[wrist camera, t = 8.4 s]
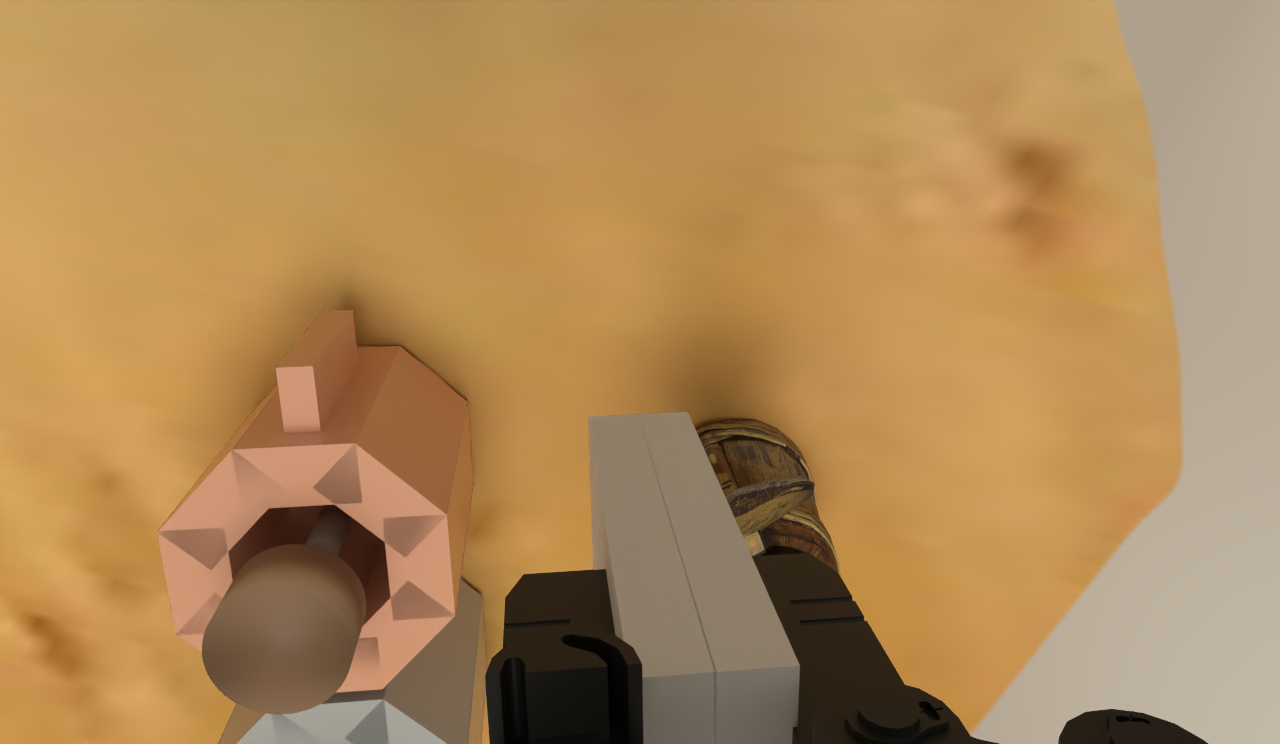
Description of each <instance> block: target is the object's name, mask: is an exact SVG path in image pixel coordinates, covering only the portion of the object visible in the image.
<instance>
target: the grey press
mask: <svg viewBox="0 0 1280 744" xmlns="http://www.w3.org/2000/svg"><path fill="white" fill-rule="evenodd" d="M486 672H487V661H486V647H485V625H484V618H483V605H482V595H480V594H479V593H478V592H476V591H475V590H474V589H472V588H471V587H470V586H469V585H468V584H467V582H466V581H465V580H464V579H463V578H462V577H461V579H460V586H459V594H458V601H457V608H456V615H455V617H454V618H453V619H452V620H451V621H450V622H449V623H448V624H447V625H446V626H445V627H444V628H443V629H442V630H441V631H440V632H439V633H438V634H437V635H436V636H435V637H434V638H433V639H432V640H431V641H430V642H429V643H428V644H427V645H426V646H425V647H424V648H423V649H422V650H421V651H420V652H419V653H418V654H417V655H416V656H415V657H414V658H413V659H412V660H411V661H410V662H409V663H408V664H407V665H406V666H405V667H404V668H403V669H402V670H401V671H400V672H399V673H398V674H397V675H396V676H395V677H394V678H393V679H392V680H391V681H390V682H389V683H388V684H387V685H386V686H385V687H384V688H383V689H378V690H365V691H352V692H338V693H335V694H334V695H332V696H331V697H330V698H329V699H328V700H326V701H325V702H323V703H322V704H320V705H318V706H316V707H314V708H311V709H308V710H306V711H302V712H298V713H292V714H267V713H262V712H257V711H254V710H251V709H248V708H245V707H243V706H241V705H239V704H237V703H236V706H235V708H234V710H233V712H232V714H231V717H230V719H229V721H228V723H227V725H226V727H225V730H224V732H223V734H222V736H221V738H220V741H219V743H218V744H481V742H482V729H483V715H484V701H485V688H486V682H485V675H486Z"/></svg>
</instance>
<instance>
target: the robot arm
mask: <svg viewBox="0 0 1280 744" xmlns="http://www.w3.org/2000/svg"><path fill="white" fill-rule="evenodd" d="M588 422H589V452H590V482H591V512H592V542H593V570H583V571H568V572H552V573H537V574H524V575H523V576H522V577H521V579H520V580H519V581H518V582H517V584H516V585H515V586H514V587H513V589H512V590H511V591H510V593H509V594H508V595H507V596H506V598H505V617H504V637H503V649H502V650H501V651H499V652H498V653H497V654H496V655H495V656H494V657H493V658H492V660H491V662H490V665H489V667H488V670H487V672H486V675H485V682H486V696H487V710H488V723H489V737H490V744H998V743H993V742H989V741H984V740H979V739H976V738H973V737H971V736H970V735H969V733H968V732H967V730H966V729H965V727H964V725H963V724H962V722H961V721H960V719H959V718H958V717H957V716H956V715H955V714H954V713H953V712H952V711H951V710H950V709H949V708H948V707H947V706H946V705H945V704H944V703H943V702H942V701H941V700H939V699H937V698H935V697H933V696H931V695H930V694H928V693H926V692H924V691H922V690H920V689H918V688H914V687H911V686H907V685H905V684H904V683H903V681H902V679H901V678H900V676H899V674H898V673H897V671H896V669H895V668H894V666H893V664H892V663H891V661H890V659H889V658H888V656H887V654H886V652H885V651H884V649H883V647H882V646H881V644H880V642H879V641H878V639H877V637H876V636H875V634H874V632H873V631H872V629H871V627H870V626H869V624H868V622H867V621H864V616H863V614H862V612H861V611H860V609H859V607H858V606H857V604H856V602H855V601H852V595H851V594H850V592H849V590H848V589H847V587H846V585H845V584H844V582H843V580H842V579H841V577H840V575H839V574H838V572H837V571H835V570H834V569H832V568H831V567H829V566H828V565H826V564H825V563H823V562H822V561H820V560H819V559H817V558H816V557H815V556H813V555H812V554H810V553H798V554H783V555H767V556H751V554H750V552H749V549H748V547H747V545H746V543H745V540H744V538H743V536H742V533H741V531H740V529H739V527H738V524H737V522H736V520H735V518H734V515H733V513H732V511H731V509H730V506H729V504H728V502H727V500H726V497H725V495H724V493H723V491H722V488H721V486H720V484H719V481H718V479H717V477H716V475H715V472H714V470H713V468H712V466H711V463H710V461H709V459H708V457H707V454H706V452H705V450H704V448H703V445H702V443H701V441H700V438H699V436H698V434H697V432H696V429H695V427H694V425H693V423H692V420H691V418H690V416H689V414H688V412H671V413H651V414H631V415H612V416H592V417H588ZM1059 744H1208V743H1206V742H1205V741H1204V740H1202V739H1201V738H1199V737H1197V736H1195V735H1194V734H1192V733H1190V732H1188V731H1186V730H1185V729H1183V728H1181V727H1179V726H1178V725H1176V724H1174V723H1171V722H1168V721H1165V720H1162V719H1159V718H1156V717H1153V716H1150V715H1147V714H1144V713H1138V712H1133V711H1123V710H1115V709H1108V710H1099V711H1090V712H1085V713H1083V714H1081V715H1079V716H1077V717H1075V718H1073V719H1072V720H1070V721H1068V722H1067V723H1066V725H1065V727H1064V729H1063V731H1062V733H1061V735H1060V737H1059Z"/></svg>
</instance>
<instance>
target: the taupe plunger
mask: <svg viewBox="0 0 1280 744" xmlns="http://www.w3.org/2000/svg"><path fill="white" fill-rule="evenodd" d="M351 520H352V517H351V516H349V515H348V514H347V513H345V512H344V511H343V510H341V509H340V508H339V507H337V506H336V505H335V504H334V505H323V507H322V509H321V512H320V514H319V516H318V518H317V520H316V522H315V524H314V527H313V529H312V531H311V533H310V535H309V537H308V539H307V542H306V544H305V545H300V544H290V545H282V546H277V547H273V548H270V549H267V550H265V551H263V552H261V553H259V554H257V555H255V556H254V557H253V558H251V559H250V560H249V561H247V562H246V563H245V564H244V565H243V566H242V568H241V569H240V570H239V571H238V573H237V575H236V576H235V578H234V580H233V581H232V583H231V585H230V587H229V588H228V590H227V592H226V594H225V595H224V597H223V599H222V601H221V602H220V604H219V606H218V608H217V609H216V611H215V613H214V615H213V616H212V618H211V620H210V622H209V623H208V625H207V627H206V630H205V632H204V636H203V641H202V658H203V662H204V666H205V669H206V671H207V673H208V675H209V677H210V679H211V680H212V682H213V683H214V684H215V686H216V687H217V688H218V689H219V690H220V691H221V692H222V693H223V694H224V695H225V696H227V697H228V698H229V699H231V700H232V701H234V702H235V703H237V704H239V705H241V706H243V707H245V708H248V709H251V710H254V711H257V712H262V713H267V714H292V713H298V712H302V711H306V710H308V709H311V708H314V707H316V706H318V705H320V704H322V703H323V702H325V701H326V700H328V699H329V698H330V697H331V696H332V695H334V694H335V693H336V692H337V690H338V689H339V688H340V687H341V686H342V684H343V682H344V681H345V679H346V677H347V675H348V673H349V670H350V666H351V663H352V660H353V656H354V653H355V650H356V646H357V643H358V640H359V636H360V633H361V629H362V626H363V623H364V619H365V615H366V608H367V607H366V596H365V591H364V588H363V586H362V583H361V581H360V580H359V578H358V576H357V575H356V573H355V572H354V571H353V570H352V568H351V567H350V566H349V565H348V564H347V563H345V562H344V561H343V560H342V559H340V558H339V557H337V556H338V554H339V551H340V549H341V546H342V544H343V541H344V538H345V536H346V533H347V531H348V528H349V526H350V523H351Z"/></svg>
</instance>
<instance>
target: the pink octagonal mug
mask: <svg viewBox="0 0 1280 744" xmlns="http://www.w3.org/2000/svg"><path fill="white" fill-rule="evenodd" d="M276 374H277V382H278V384H277V385H276V386H275V387H274V388H273V390H272V391H271V392H270V393H269V394H268V395H267V396H266V397H265V398H264V400H263V401H262V402H261V403H260V404H259V405H258V406H257V407H256V408H255V409H254V411H253V412H251V414H250V415H249V416H248V417H247V419H246V420H245V421H244V422H243V424H242V425H241V426H240V427H239V429H238V430H237V431H236V433H235V434H234V435H233V436H232V438H231V439H230V440H229V441H228V443H227V444H226V445H225V446H224V448H223V449H222V450H221V451H220V453H219V454H218V455H217V456H216V458H215V459H214V460H213V462H212V463H211V464H210V465H209V467H208V468H207V469H206V470H205V472H204V473H203V474H202V475H201V477H200V478H199V479H198V480H197V482H196V483H195V484H194V486H193V487H192V488H191V489H190V491H189V492H188V493H187V494H186V496H185V497H184V498H183V499H182V501H181V502H180V503H179V504H178V506H177V507H176V508H175V509H174V511H173V512H172V513H171V515H170V516H169V517H168V518H167V520H166V521H165V522H164V523H163V525H162V526H161V527H160V528H159V530H158V531H157V533H158V539H159V544H160V550H161V555H162V561H163V566H164V572H165V577H166V583H167V588H168V594H169V599H170V605H171V610H172V616H173V621H174V627H175V632H176V636H178V637H180V638H181V639H183V640H184V641H186V642H187V643H189V644H190V645H192V646H193V647H195V648H196V649H198V650H199V651H201V652H202V641H203V636H204V632H205V630H206V627H207V625H208V623H209V622H210V620H211V618H212V616H213V615H214V613H215V611H216V609H217V608H218V606H219V604H220V602H221V601H222V599H223V597H224V595H225V594H226V592H227V590H228V588H229V587H230V585H231V583H232V581H233V580H234V578H235V576H236V575H237V573H238V571H239V570H240V569H241V568H242V566H243V565H244V564H245V563H246V562H247V561H249V560H250V559H251V558H253V557H254V556H255V555H257V554H259V553H261V552H263V551H265V550H267V549H270V548H273V547H277V546H282V545H290V544H300V545H305V544H306V542H307V539H308V537H309V535H310V533H311V531H312V529H313V527H314V524H315V522H316V520H317V518H318V516H319V514H320V512H321V509H322V507H323V505H334V504H335V505H336V506H337V507H339V508H340V509H341V510H343V511H344V512H345V513H347V514H348V515H349V516H351V517H352V520H351V523H350V526H349V528H348V531H347V533H346V536H345V538H344V541H343V544H342V546H341V549H340V551H339V554H338V556H337V557H339V558H340V559H342V560H343V561H344V562H345V563H347V564H348V565H349V566H350V567H351V568H352V570H353V571H354V572H355V573H356V575H357V576H358V578H359V580H360V581H361V583H362V586H363V588H364V591H365V596H366V607H367V608H366V615H365V619H364V623H363V626H362V629H361V633H360V636H359V640H358V643H357V646H356V650H355V653H354V656H353V660H352V663H351V666H350V670H349V673H348V675H347V677H346V679H345V681H344V682H343V684H342V686H341V687H340V688H339V689H338V690H337V692H336V693H338V692H352V691H365V690H378V689H383V688H384V687H385V686H386V685H387V684H388V683H389V682H390V681H391V680H392V679H393V678H394V677H395V676H396V675H397V674H398V673H399V672H400V671H401V670H402V669H403V668H404V667H405V666H406V665H407V664H408V663H409V662H410V661H411V660H412V659H413V658H414V657H415V656H416V655H417V654H418V653H419V652H420V651H421V650H422V649H423V648H424V647H425V646H426V645H427V644H428V643H429V642H430V641H431V640H432V639H433V638H434V637H435V636H436V635H437V634H438V633H439V632H440V631H441V630H442V629H443V628H444V627H445V626H446V625H447V624H448V623H449V622H450V621H451V620H452V619H453V618H454V617H455V615H456V608H457V601H458V594H459V586H460V579H461V572H462V564H463V557H464V550H465V542H466V535H467V528H468V520H469V513H470V506H471V499H472V491H473V484H474V481H473V467H472V454H471V434H470V426H469V412H468V402H467V401H466V400H465V399H463V398H462V397H461V396H460V395H459V394H457V393H456V392H455V391H454V390H452V389H451V387H450V386H449V385H448V384H447V383H446V381H445V380H444V379H443V378H442V377H440V376H439V375H438V374H437V373H436V372H435V371H434V370H432V369H431V368H430V367H428V366H427V365H426V364H424V363H422V362H421V361H419V360H417V359H415V358H414V357H413V356H411V355H410V354H409V353H408V352H407V351H405V350H404V349H403V348H402V347H401V346H386V347H378V346H371V345H356V335H355V326H354V316H353V310H341V311H322V312H321V314H320V315H319V316H318V317H317V318H316V320H315V321H314V322H313V323H312V325H311V326H310V327H309V328H308V329H307V331H306V332H305V333H304V334H303V335H302V337H301V338H300V339H299V340H298V341H297V343H296V344H295V345H294V346H293V347H292V349H291V350H290V351H289V352H288V353H287V355H286V356H285V357H284V358H283V360H282V361H281V362H280V363H279V364H278V366H277V367H276Z"/></svg>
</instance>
